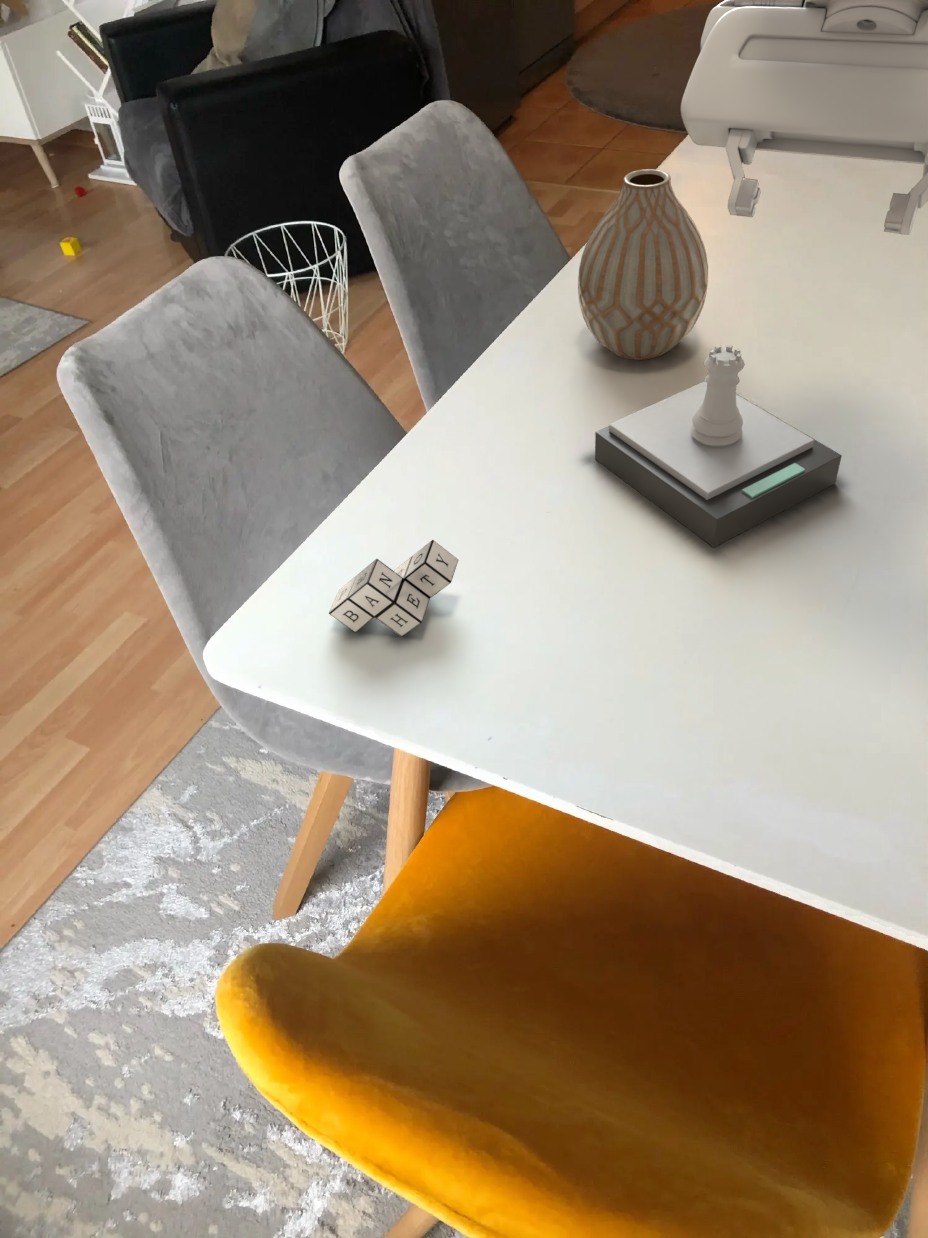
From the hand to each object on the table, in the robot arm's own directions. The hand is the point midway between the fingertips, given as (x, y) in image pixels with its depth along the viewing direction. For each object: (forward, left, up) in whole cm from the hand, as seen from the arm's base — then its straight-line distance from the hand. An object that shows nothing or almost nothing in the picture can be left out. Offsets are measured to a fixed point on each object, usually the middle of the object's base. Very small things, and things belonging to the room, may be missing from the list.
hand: (815, 221), depth 59 cm
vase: (+21, -29, -27) cm, 45 cm away
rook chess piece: (+7, -10, -24) cm, 26 cm away
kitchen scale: (+7, -10, -27) cm, 30 cm away
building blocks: (+24, +17, -27) cm, 40 cm away
